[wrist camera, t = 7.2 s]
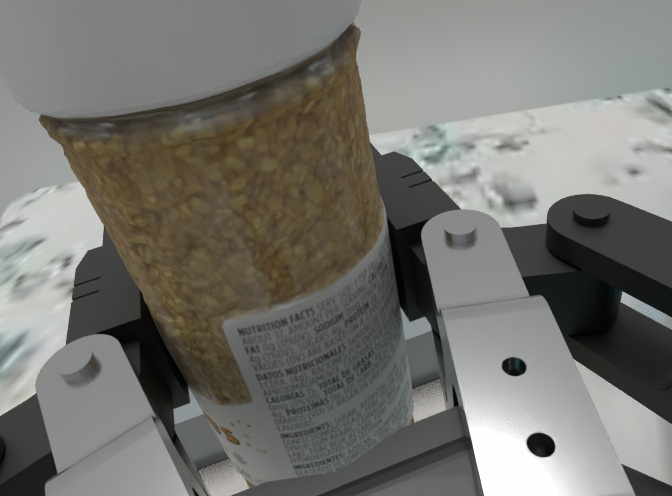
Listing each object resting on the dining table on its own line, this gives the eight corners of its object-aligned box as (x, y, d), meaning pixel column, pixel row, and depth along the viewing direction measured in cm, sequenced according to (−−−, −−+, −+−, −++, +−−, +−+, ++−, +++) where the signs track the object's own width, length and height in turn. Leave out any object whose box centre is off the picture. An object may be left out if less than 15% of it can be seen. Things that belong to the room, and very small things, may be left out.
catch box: (416, 207, 33) (412, 164, 31) (531, 342, 23) (535, 292, 22) (157, 292, 31) (136, 251, 29) (168, 480, 21) (138, 437, 19)
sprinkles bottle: (239, 453, 15) (-55, -87, 7) (378, 382, 16) (261, -162, 8) (296, 616, 12) (-149, -64, 4) (468, 514, 13) (420, -199, 5)
